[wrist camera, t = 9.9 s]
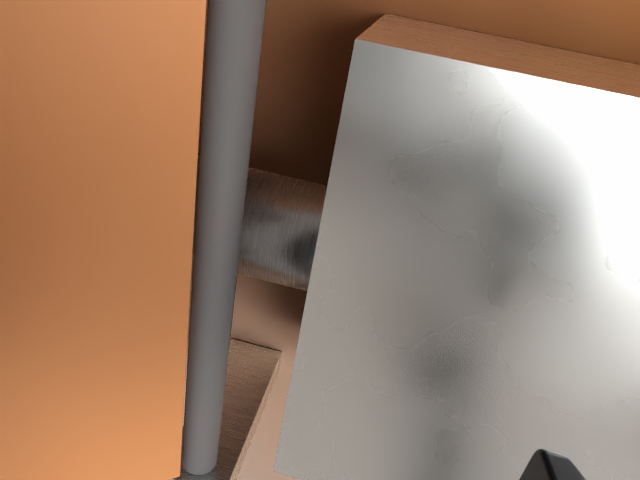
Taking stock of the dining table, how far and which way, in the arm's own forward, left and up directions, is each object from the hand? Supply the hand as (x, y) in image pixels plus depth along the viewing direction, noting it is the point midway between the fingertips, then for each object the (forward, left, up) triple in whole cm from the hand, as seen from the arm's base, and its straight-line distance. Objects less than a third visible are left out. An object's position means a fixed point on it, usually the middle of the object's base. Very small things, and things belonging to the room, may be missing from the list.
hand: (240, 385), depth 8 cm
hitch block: (0, -1, -8) cm, 8 cm away
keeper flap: (0, +3, -2) cm, 4 cm away
